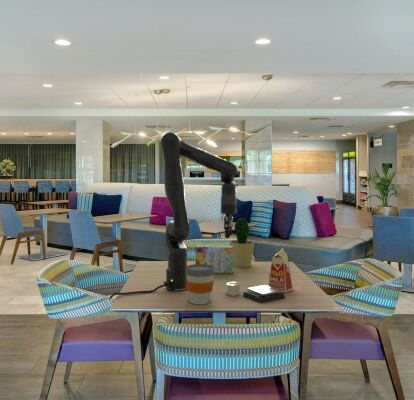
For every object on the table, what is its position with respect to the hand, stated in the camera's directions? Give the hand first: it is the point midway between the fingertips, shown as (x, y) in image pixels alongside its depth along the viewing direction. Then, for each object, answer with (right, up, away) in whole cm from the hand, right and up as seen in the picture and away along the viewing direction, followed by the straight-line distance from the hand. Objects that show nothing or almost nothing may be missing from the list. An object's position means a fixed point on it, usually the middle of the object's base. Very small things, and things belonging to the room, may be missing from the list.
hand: (228, 236), depth 198 cm
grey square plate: (+15, -23, -15) cm, 31 cm away
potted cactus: (+13, -23, +52) cm, 58 cm away
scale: (+15, -26, -15) cm, 33 cm away
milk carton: (+25, -26, -3) cm, 36 cm away
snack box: (-5, -24, +34) cm, 42 cm away
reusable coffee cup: (-15, -26, -21) cm, 37 cm away
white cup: (+1, -26, -11) cm, 28 cm away
